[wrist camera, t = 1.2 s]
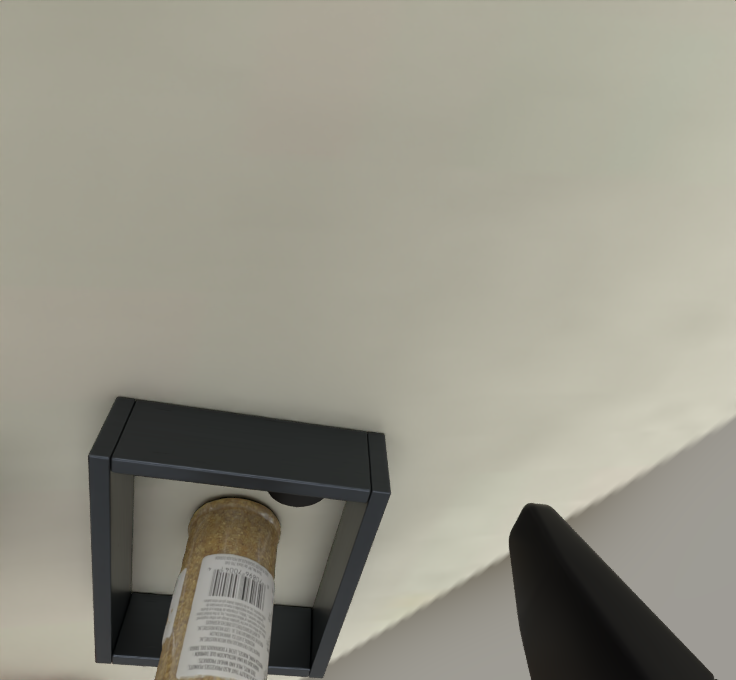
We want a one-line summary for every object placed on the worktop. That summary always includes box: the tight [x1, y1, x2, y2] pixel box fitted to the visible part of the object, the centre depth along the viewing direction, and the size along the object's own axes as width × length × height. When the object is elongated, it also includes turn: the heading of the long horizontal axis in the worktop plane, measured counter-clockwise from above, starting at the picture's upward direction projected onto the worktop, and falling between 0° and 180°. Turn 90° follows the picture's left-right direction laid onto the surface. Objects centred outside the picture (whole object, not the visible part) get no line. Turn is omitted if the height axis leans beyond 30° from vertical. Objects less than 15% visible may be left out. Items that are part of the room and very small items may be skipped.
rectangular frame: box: [88, 397, 391, 678], centre depth 28 cm, size 12×15×4 cm
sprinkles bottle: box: [155, 498, 281, 680], centre depth 24 cm, size 5×5×14 cm
